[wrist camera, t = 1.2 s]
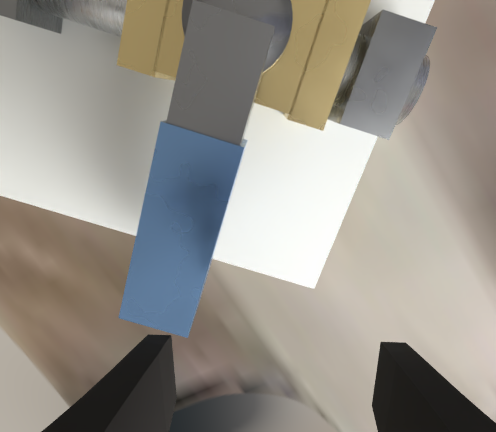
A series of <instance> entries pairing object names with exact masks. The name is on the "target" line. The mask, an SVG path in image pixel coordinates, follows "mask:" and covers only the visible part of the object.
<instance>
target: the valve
mask: <svg viewBox="0 0 496 432" xmlns="http://www.w3.org/2000/svg"><path fill="white" fill-rule="evenodd" d="M370 2H371V0H291V3H292V11H293V22H292V30H291V34H290V37H289V40H288V43H287V46H286V48H285V50H284V52H283V54H282V56H281V57H280V59H279V60H278V61H277V63H276V64H275V65H274V66H273V67H272V68H271V69H269V70H268V71H267V72H265V73H264V74H263V75H262V78H261V82H260V85H259V88H258V92H257V95H256V99H255V102H254V103H256V104H259V105H262V106H265V107H268V108H272V109H275V110H278V111H281V112H284V113H283V115H284V117H285V118H286V119H287V120H290V121H293V122H297V123H300V124H303V125H306V126H309V127H312V128H315V129H319V130H322V131H323V130H324V128H325V125H326V122H327V119H328V120H330V121H333V122H336V123H338V124H341V125H344V126H347V127H350V128H354V129H357V130H360V131H363V132H366V133H369V134H372V135H375V136H379V137H382V138H385V139H388V140H389V139H390V136H391V134H392V132H393V129H394V127H395V125H398V124H399V123H401V122H402V121H403V120H404V119H405V118H406V117H407V116H408V115H409V113H410V112H411V110H412V109H413V107H414V106H415V104H416V103H417V101H418V99H419V97H420V95H421V93H422V91H423V88H424V86H425V83H426V80H427V77H428V73H429V68H430V60H429V57H428V56H427V55H426V53H427V50H428V48H429V46H430V43H431V41H432V39H433V36H434V34H435V32H436V29H437V27H434V26H431V25H428V24H425V23H422V22H419V21H416V20H413V19H410V18H407V17H404V16H401V15H398V14H395V13H392V12H389V11H386V10H381V11H380V12H379V13H377V14H376V15H375V16H374V17H372V18H371V19H370V20H368V21H367V22H366V23H364V24H363V21H364V18H365V15H366V13H367V10H368V7H369V4H370ZM182 6H183V0H0V15H1V16H4V17H7V18H10V19H14V20H17V21H20V22H23V23H27V24H30V25H33V26H36V27H40V28H43V29H46V30H50V31H53V32H56V33H60V34H61V32H62V23H63V19H66V20H69V21H72V22H76V23H79V24H82V25H85V26H88V27H91V28H94V29H97V30H100V31H103V32H107V33H110V34H113V35H116V36H119V37H121V41H120V47H119V53H118V59H117V65H118V66H121V67H124V68H127V69H130V70H133V71H137V72H140V73H143V74H146V75H149V76H152V77H156V78H162V79H168V80H174V81H175V80H176V75H177V70H178V66H179V61H180V57H181V52H182V48H183V43H184V38H185V36H184V32H183V27H182ZM362 24H363V25H362Z"/></svg>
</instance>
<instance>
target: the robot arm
mask: <svg viewBox="0 0 496 432" xmlns="http://www.w3.org/2000/svg"><path fill="white" fill-rule="evenodd" d="M176 398H177V397H176V385H175V374H174V362H173V351H172V339H171V335H147V336H146V337H145V338H144V339H143V340H142V341H141V342H140V343H139V344H138V345H137V346H136V347H135V348H134V349H132V350H131V351H130V352H129V353H128V354H127V355H126V356H125V357H124V358H123V359H122V360H121V361H120V362H119V363H118V364H117V365H116V366H115V367H114V368H113V369H112V370H111V371H110V372H109V373H108V374H107V375H105V376H104V377H103V378H102V379H101V380H100V381H99V382H98V383H97V384H96V385H95V386H94V387H92V388H91V389H90V390H89V391H88V392H87V393H86V394H85V395H84V396H83V397H82V398H80V399H79V400H78V401H77V402H76V403H75V404H74V405H72V406H71V407H70V408H69V409H68V410H67V411H65V412H64V413H63V414H62V415H61V416H60V417H58V419H56V420H55V421H54V422H53V423H51V424H50V425H49V426H48V427H47V428H45V429H44V430H43V431H42V432H169V429H170V425H171V421H172V416H173V412H174V407H175V402H176ZM372 407H373V412H374V416H375V420H376V425H377V429H378V432H496V423H495V422H494V421H493V420H491V419H490V418H489V417H488V416H487V415H485V414H484V413H483V412H482V411H481V410H480V409H478V408H477V407H476V406H475V405H474V404H473V403H472V402H471V401H469V400H468V399H467V398H466V397H465V396H464V395H463V394H461V393H460V392H459V391H458V390H457V389H456V388H455V387H454V386H453V385H451V384H450V383H449V382H448V381H447V380H446V379H445V378H444V377H443V376H442V375H441V374H439V373H438V372H437V371H436V370H435V369H434V368H433V367H432V366H431V365H430V364H429V363H428V362H426V361H425V360H424V359H423V358H422V357H421V356H420V355H419V354H418V353H417V352H416V351H414V350H413V349H412V348H411V347H410V346H409V345H408V344H406V343H397V342H381V344H380V352H379V359H378V366H377V373H376V380H375V387H374V395H373V402H372Z"/></svg>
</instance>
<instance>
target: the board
mask: <svg viewBox="0 0 496 432" xmlns="http://www.w3.org/2000/svg"><path fill="white" fill-rule="evenodd" d="M434 1H435V0H371V2H370V4H369V7H368V10H367V13H366V15H365V18H364V21H363V24H364V23H366V22H367V21H368V20H370V19H371V18H372V17H374V16H375V15H376V14H377V13H379V12H380V11H381V10H386V11H389V12H392V13H395V14H398V15H401V16H404V17H407V18H410V19H413V20H416V21H419V22H422V23H425V22H426V20H427V18H428V15H429V13H430V10H431V8H432V6H433V3H434ZM363 24H362V25H363ZM120 41H121V37H119V36H116V35H113V34H110V33H107V32H103V31H100V30H97V29H94V28H91V27H88V26H85V25H82V24H79V23H76V22H72V21H69V20H66V19H63V23H62V32H61V34H60V33H56V32H53V31H50V30H46V29H43V28H40V27H36V26H33V25H30V24H27V23H23V22H20V21H17V20H14V19H10V18H7V17H4V16H1V15H0V196H4V197H7V198H10V199H14V200H17V201H20V202H24V203H27V204H30V205H34V206H37V207H41V208H44V209H47V210H51V211H54V212H57V213H61V214H64V215H67V216H71V217H74V218H78V219H81V220H84V221H88V222H91V223H94V224H98V225H101V226H104V227H108V228H111V229H114V230H118V231H121V232H125V233H128V234H131V235H135V236H136V234H137V230H138V225H139V220H140V216H141V211H142V206H143V201H144V197H145V192H146V187H147V183H148V178H149V173H150V169H151V164H152V159H153V154H154V150H155V145H156V140H157V136H158V131H159V126H160V122H161V121H164V120H167V116H168V112H169V107H170V103H171V98H172V93H173V89H174V84H175V81H174V80H168V79H162V78H156V77H152V76H149V75H146V74H143V73H140V72H137V71H133V70H130V69H127V68H124V67H121V66H118V65H117V59H118V53H119V47H120ZM283 113H284V112H281V111H278V110H275V109H272V108H268V107H265V106H262V105H259V104H256V103H254V105H253V109H252V112H251V116H250V119H249V122H248V126H247V129H246V133H245V136H244V139H246V140H248V141H247V144H246V147H245V151H244V154H243V158H242V161H241V164H240V168H239V171H238V174H237V178H236V181H235V184H234V188H233V191H232V194H231V198H230V201H229V204H228V208H227V211H226V215H225V218H224V221H223V225H222V228H221V231H220V235H219V238H218V241H217V245H216V248H215V251H214V255H213V258H212V259H215V260H219V261H222V262H225V263H229V264H232V265H235V266H239V267H242V268H246V269H249V270H252V271H256V272H259V273H262V274H266V275H269V276H272V277H276V278H279V279H282V280H286V281H289V282H293V283H296V284H299V285H303V286H306V287H309V288H313V289H314V288H315V285H316V283H317V281H318V278H319V276H320V273H321V271H322V269H323V266H324V264H325V261H326V259H327V257H328V254H329V252H330V250H331V247H332V245H333V242H334V240H335V238H336V235H337V233H338V230H339V228H340V226H341V223H342V221H343V218H344V216H345V214H346V211H347V209H348V206H349V204H350V202H351V199H352V197H353V194H354V192H355V190H356V187H357V185H358V183H359V180H360V178H361V175H362V173H363V171H364V168H365V166H366V163H367V161H368V159H369V156H370V154H371V151H372V149H373V147H374V144H375V142H376V139H377V137H378V136H375V135H372V134H369V133H366V132H363V131H360V130H357V129H354V128H350V127H347V126H344V125H341V124H338V123H336V122H333V121H330V120H328V119H327V122H326V125H325V128H324V130H323V131H322V130H319V129H315V128H312V127H309V126H306V125H303V124H300V123H297V122H293V121H290V120H287V119H286V118H285V117H284V115H283Z"/></svg>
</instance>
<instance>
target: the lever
mask: <svg viewBox="0 0 496 432" xmlns="http://www.w3.org/2000/svg"><path fill="white" fill-rule="evenodd" d="M292 22H293V11H292V3H291V0H183V6H182V27H183V32H184V36H185V38H184V43H183V48H182V52H181V57H180V61H179V66H178V70H177V75H176V80H175V84H174V89H173V93H172V98H171V103H170V107H169V112H168V116H167V120H164V121H161V122H160V126H159V131H158V136H157V140H156V145H155V150H154V154H153V159H152V164H151V169H150V173H149V178H148V183H147V187H146V192H145V197H144V201H143V206H142V211H141V216H140V220H139V225H138V230H137V234H136V239H135V244H134V248H133V253H132V258H131V263H130V267H129V272H128V277H127V281H126V286H125V291H124V295H123V300H122V305H121V310H120V314H119V318H120V319H124V320H127V321H131V322H134V323H138V324H141V325H145V326H148V327H152V328H155V329H159V330H162V331H166V332H169V333H173V334H176V335H180V336H183V337H187V338H188V336H189V333H190V330H191V326H192V323H193V320H194V317H195V314H196V311H197V308H198V305H199V302H200V298H201V295H202V292H203V288H204V285H205V282H206V278H207V275H208V272H209V268H210V265H211V262H212V258H213V255H214V251H215V248H216V245H217V241H218V238H219V235H220V231H221V228H222V225H223V221H224V218H225V215H226V211H227V208H228V204H229V201H230V198H231V194H232V191H233V188H234V184H235V181H236V178H237V174H238V171H239V168H240V164H241V161H242V158H243V154H244V151H245V147H246V144H247V141H248V140H246V139H244V136H245V133H246V129H247V126H248V122H249V119H250V116H251V112H252V109H253V105H254V102H255V99H256V95H257V92H258V88H259V85H260V82H261V78H262V75H263V74H264V73H265V72H267V71H268V70H269V69H271V68H272V67H273V66H274V65H275V64H276V63H277V61H278V60H279V59H280V57H281V56H282V54H283V52H284V50H285V48H286V46H287V43H288V40H289V37H290V34H291V30H292Z"/></svg>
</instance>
